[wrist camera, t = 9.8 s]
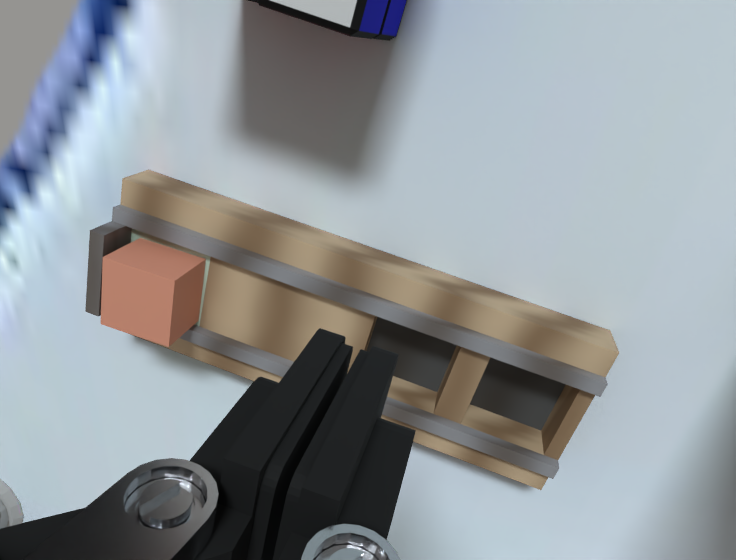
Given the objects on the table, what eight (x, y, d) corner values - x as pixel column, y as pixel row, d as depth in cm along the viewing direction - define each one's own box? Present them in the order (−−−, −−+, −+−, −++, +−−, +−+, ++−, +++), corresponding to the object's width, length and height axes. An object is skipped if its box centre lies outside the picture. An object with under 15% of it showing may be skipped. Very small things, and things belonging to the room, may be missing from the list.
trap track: (610, 330, 36) (629, 378, 31) (538, 461, 41) (544, 522, 36) (148, 169, 39) (92, 188, 34) (134, 310, 44) (83, 345, 39)
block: (206, 259, 38) (174, 280, 34) (198, 320, 40) (168, 347, 36) (140, 237, 38) (102, 257, 34) (136, 299, 40) (100, 323, 37)
